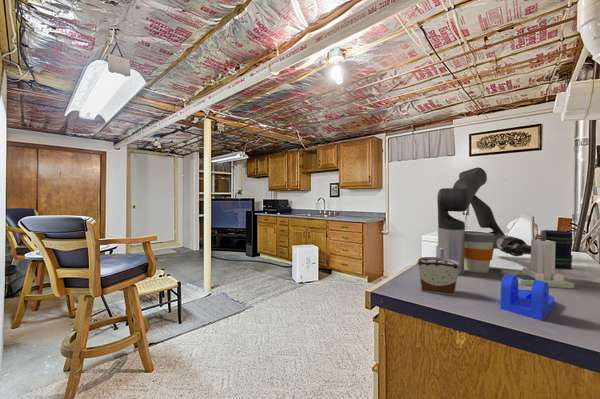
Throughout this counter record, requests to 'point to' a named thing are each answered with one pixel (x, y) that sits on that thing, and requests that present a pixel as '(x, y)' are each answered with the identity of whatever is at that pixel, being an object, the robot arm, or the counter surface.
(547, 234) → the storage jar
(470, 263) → the reusable coffee cup
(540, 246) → the plug
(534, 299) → the bracket
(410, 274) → the counter surface
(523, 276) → the board
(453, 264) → the food container
